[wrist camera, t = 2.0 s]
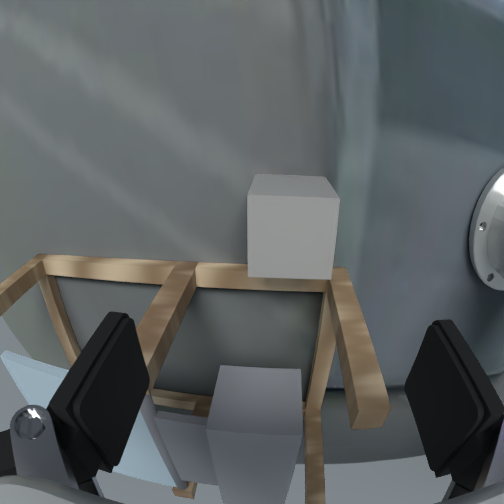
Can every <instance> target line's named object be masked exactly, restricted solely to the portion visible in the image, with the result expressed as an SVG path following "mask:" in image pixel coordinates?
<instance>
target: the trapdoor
mask: <svg viewBox="0 0 504 504" xmlns="http://www.w3.org/2000/svg"><path fill="white" fill-rule="evenodd" d="M1 359H2V361H3V362H4V364H5V366H6V368H7V369H8V371H9V373H10V375H11V376H12V378H13V380H14V381H15V383H16V385H17V386H18V388H19V389H20V391H21V392H22V394H23V396H24V397H25V399H26V400H27V402H28V403H29V405H40V406H42V407H44V408H45V409H46V408H47V406H48V405H49V402H50V400H51V399H52V397H53V395H54V394H55V392H56V390H57V389H58V387H59V386H60V384H61V382H62V381H63V379H64V378H65V376H66V375H67V373H68V371H69V370H66V369H62V368H59V367H55V366H52V365H49V364H45V363H42V362H39V361H36V360H33V359H29V358H27V357H24V356H21V355H18V354H15V353H12V352H10V351H7V350H5V351H4V353H3V354H2V355H1ZM302 437H303V415H302V385H301V369H280V368H257V367H241V366H227V365H220V369H219V373H218V378H217V382H216V386H215V391H214V395H213V399H212V404H211V408H210V412H209V417H208V418H206V417H198V416H191V415H184V414H177V413H171V412H165V411H159V410H156V408H155V405H154V402H153V399H152V396H151V394H150V395H147V394H146V395H145V397H144V400H143V403H142V405H141V408H140V410H139V413H138V415H137V418H136V421H135V423H134V426H133V428H132V431H131V434H130V436H129V439H128V442H127V444H126V447H125V450H124V453H123V455H122V458H121V461H120V463H119V465H118V466H114V467H113V470H112V471H114V472H117V473H121V474H124V475H128V476H131V477H135V478H139V479H143V480H147V481H151V482H155V483H159V484H164V485H168V486H173V487H177V488H178V489H180V490H185V489H186V488H187V486H188V485H187V483H186V481H190V482H196V483H203V484H210V485H218V486H219V488H220V493H221V496H222V500H223V503H226V504H284V503H285V500H286V497H287V493H288V490H289V486H290V483H291V479H292V475H293V472H294V468H295V465H296V461H297V457H298V453H299V449H300V445H301V441H302Z"/></svg>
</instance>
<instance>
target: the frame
mask: <svg viewBox="0 0 504 504" xmlns="http://www.w3.org/2000/svg"><path fill="white" fill-rule="evenodd" d="M54 275H58V276H68V277H79V278H89V279H100V280H112V281H124V282H136V283H149V284H163V285H162V287H161V288H160V290H159V292H158V293H157V295H156V296H155V298H154V300H153V301H152V303H151V305H150V306H149V308H148V310H147V311H146V313H145V314H144V316H143V318H142V319H141V321H140V323H139V324H138V326H137V328H136V331H137V335H138V339H139V343H140V346H141V350H142V353H143V357H144V360H145V364H146V367H147V370H148V373H149V377H150V383H149V387H148V390H147V392H146V394H147V395H150V394H151V396H152V399H153V402H154V404H157V405H162V406H168V407H175V408H181V409H188V410H194V411H193V414H192V416H198V417H206V418H208V417H209V412H210V408H211V404H212V399H213V397H212V396H203V395H195V394H187V393H180V392H173V391H166V390H160V389H154V388H153V386H154V384H155V381H156V379H157V377H158V374H159V372H160V369H161V367H162V365H163V362H164V360H165V358H166V355H167V353H168V351H169V348H170V346H171V344H172V341H173V339H174V337H175V335H176V332H177V330H178V328H179V325H180V323H181V321H182V319H183V316H184V314H185V312H186V310H187V307H188V305H189V303H190V301H191V298H192V296H193V294H194V292H195V289H196V287H211V288H230V289H251V290H275V291H304V292H323V299H322V306H321V313H320V320H319V327H318V333H317V340H316V346H315V352H314V358H313V364H312V369H311V375H310V380H309V386H308V391H307V396H306V401H305V402H302V415H303V418H304V436H305V504H325V479H324V459H323V443H322V428H321V414H320V409H321V405H322V401H323V397H324V393H325V389H326V385H327V381H328V377H329V372H330V368H331V364H332V359H333V355H334V350H335V346H336V343H337V348H338V354H339V359H340V365H341V370H342V376H343V382H344V388H345V394H346V400H347V407H348V413H349V420H350V427H351V430H357V429H370V428H381V427H382V426H383V424H384V422H385V420H386V418H387V416H388V414H389V412H390V410H391V406H390V402H389V398H388V395H387V391H386V388H385V384H384V381H383V377H382V374H381V370H380V367H379V364H378V361H377V357H376V354H375V351H374V348H373V344H372V341H371V338H370V335H369V332H368V329H367V326H366V323H365V320H364V317H363V314H362V311H361V308H360V305H359V303H358V300H357V297H356V294H355V291H354V289H353V286H352V283H351V280H350V278H349V275H348V272H347V269H346V268H341V267H333V268H332V276H331V280H325V279H292V278H264V277H248V264H229V263H205V262H183V261H161V260H140V259H120V258H101V257H83V256H65V255H48V254H38V255H36V256H35V257H34V258H32V259H31V260H30V261H28V262H27V263H26V264H25V265H23V266H22V267H21V268H20V269H18V270H17V271H16V272H14V273H13V274H12V275H11V276H10V277H8V278H7V279H6V280H5V281H3V282H2V283H1V284H0V316H1V315H2V314H3V313H4V312H5V311H6V310H7V309H8V308H9V307H11V306H12V305H13V304H14V303H15V302H16V301H17V300H18V299H19V298H20V297H21V296H22V295H23V294H24V293H26V292H27V291H28V290H29V289H30V288H31V287H32V286H33V285H34V284H36V283H37V282H39V285H40V288H41V291H42V294H43V297H44V300H45V303H46V306H47V308H48V311H49V314H50V316H51V319H52V322H53V324H54V327H55V329H56V332H57V334H58V337H59V339H60V342H61V344H62V346H63V349H64V351H65V353H66V355H67V358H68V360H69V362H70V364H71V366H72V365H73V364H74V362H75V361H76V359H77V358H78V356H79V355H80V353H81V350H80V348H79V345H78V343H77V340H76V338H75V335H74V333H73V330H72V327H71V324H70V322H69V319H68V316H67V313H66V310H65V307H64V304H63V301H62V298H61V295H60V292H59V289H58V286H57V282H56V279H55V276H54ZM186 483H187V485H188V486H187V488H186V489H185V490H180V489H178V488H177V487H173V489H172V491H173V493H174V494H175V496H179V497H185V498H190V499H194V496H195V492H196V487H197V483H196V482H190V481H186Z"/></svg>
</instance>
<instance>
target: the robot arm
mask: <svg viewBox="0 0 504 504" xmlns="http://www.w3.org/2000/svg"><path fill="white" fill-rule="evenodd" d="M469 252H470V258H471V262H472V265H473V267H474V270H475V272H476V273H477V275H478V276H479V278H480V279H481V280H482V281H483V282H484V283H485V284H486V285H487V286H489V287H491V288H492V289H496V290H499V291H504V167H503V168H502V169H500V170H499V171H498V172H497V173H496V174H495V175H494V176H493V177H492V178H491V180H490V181H489V183H488V184H487V185H486V187H485V188H484V190H483V192H482V194H481V196H480V198H479V200H478V202H477V205H476V208H475V210H474V213H473V218H472V222H471V226H470V234H469ZM149 383H150V377H149V373H148V370H147V367H146V364H145V360H144V357H143V353H142V350H141V346H140V343H139V339H138V335H137V331H136V327H135V324H134V320H133V319H132V318H129V316H128V314H126V313H119V312H109V313H108V314H107V315H106V317H105V318H104V320H103V321H102V322H101V324H100V325H99V327H98V328H97V330H96V331H95V332H94V334H93V335H92V337H91V338H90V340H89V341H88V343H87V344H86V346H85V347H84V349H83V350H82V352H81V353H80V355H79V356H78V358H77V359H76V361H75V362H74V364H73V365H72V367H71V368H70V370H69V371H68V373H67V375H66V376H65V378H64V379H63V381H62V382H61V384H60V386H59V387H58V389H57V390H56V392H55V394H54V395H53V397H52V399H51V400H50V402H49V405H48V406H47V408H46V409H45V408H44V407H42V406H40V405H27V406H25V407H23V408H21V409H20V410H18V411H17V412H16V413H15V414H14V416H13V417H12V420H11V422H10V429H8V430H6V431H3V432H0V504H123V503H119V502H116V501H113V500H109V499H106V498H105V497H104V495H103V493H102V491H101V489H100V487H99V484H98V482H97V480H96V477H95V476H96V474H97V471H98V469H100V470H103V471H106V472H109V473H111V472H112V470H113V467H114V466H118V465H119V463H120V461H121V458H122V455H123V453H124V450H125V447H126V444H127V442H128V439H129V436H130V434H131V431H132V428H133V426H134V423H135V421H136V418H137V415H138V413H139V410H140V408H141V405H142V403H143V400H144V397H145V395H146V392H147V390H148V387H149ZM405 392H406V395H407V398H408V401H409V404H410V406H411V409H412V412H413V415H414V418H415V421H416V424H417V428H418V431H419V434H420V437H421V440H422V443H423V447H424V450H425V453H426V457H427V460H428V464H429V467H430V469H431V470H432V471H434V472H435V475H436V477H441V476H444V475H448V474H450V473H451V476H452V481H451V483H450V486H449V487H448V490H447V492H446V494H445V496H444V498H443V500H442V502H438V503H435V504H504V414H503V413H504V406H503V404H502V402H501V400H500V398H499V396H498V394H497V393H496V391H495V389H494V387H493V385H492V384H491V382H490V380H489V378H488V377H487V375H486V373H485V372H484V370H483V368H482V367H481V365H480V363H479V362H478V360H477V358H476V357H475V355H474V353H473V352H472V350H471V349H470V347H469V345H468V344H467V342H466V341H465V339H464V338H463V336H462V335H461V333H460V332H459V330H458V329H457V327H456V326H455V324H454V323H453V321H452V320H449V319H448V320H436V321H434V322H433V323H432V325H430V326H429V327H428V329H427V331H426V334H425V337H424V339H423V342H422V344H421V347H420V350H419V352H418V354H417V357H416V359H415V362H414V364H413V366H412V369H411V371H410V373H409V376H408V378H407V380H406V383H405Z"/></svg>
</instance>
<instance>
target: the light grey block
mask: <svg viewBox="0 0 504 504" xmlns="http://www.w3.org/2000/svg"><path fill="white" fill-rule="evenodd" d="M339 203H340V198H339V197H338V195H337V194H336V192H335V191H334V189H333V188H332V186H331V185H330V183H329V182H328V180H327V179H326V177H319V176H298V175H268V174H255V177H254V179H253V182H252V184H251V187H250V189H249V192H248V195H247V228H248V277H264V278H292V279H325V280H331V276H332V268H333V260H334V252H335V243H336V234H337V224H338V214H339Z"/></svg>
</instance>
